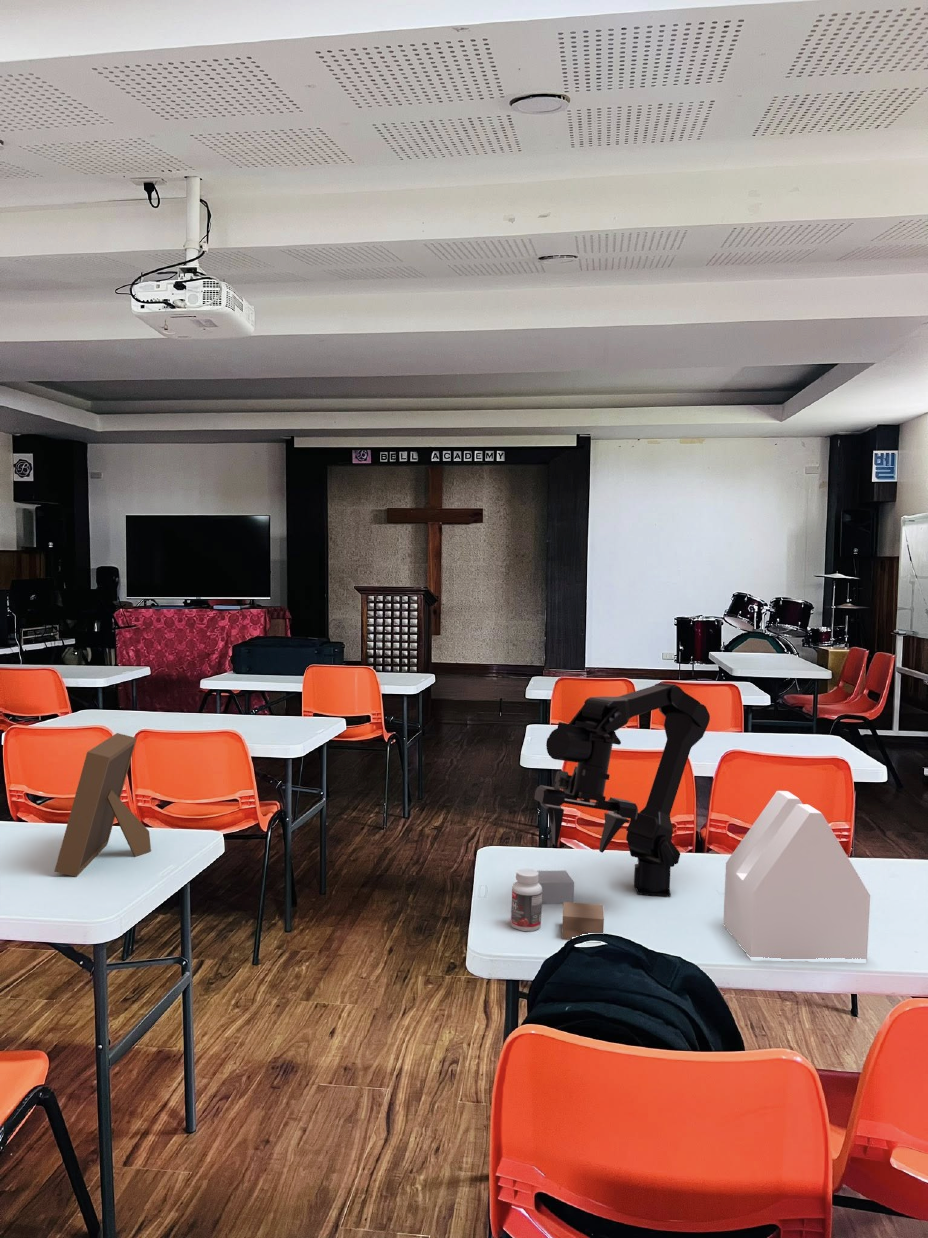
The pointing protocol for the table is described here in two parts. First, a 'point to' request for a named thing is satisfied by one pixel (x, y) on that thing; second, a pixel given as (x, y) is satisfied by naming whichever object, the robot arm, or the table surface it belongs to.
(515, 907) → the pill bottle
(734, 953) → the table surface
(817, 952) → the pinkish house shaped block
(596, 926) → the walnut block
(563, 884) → the grey block
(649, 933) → the table surface
